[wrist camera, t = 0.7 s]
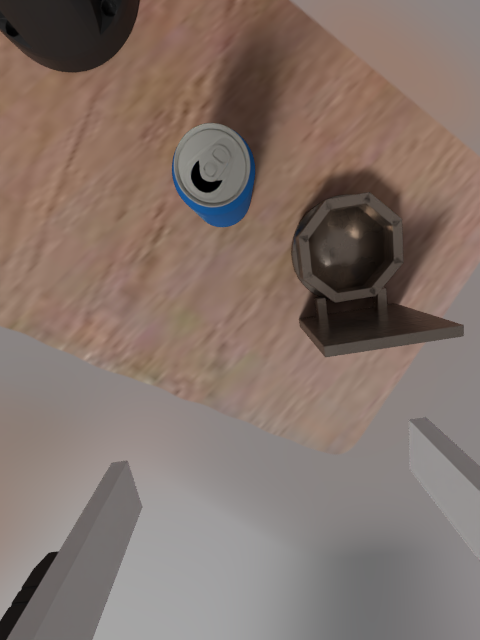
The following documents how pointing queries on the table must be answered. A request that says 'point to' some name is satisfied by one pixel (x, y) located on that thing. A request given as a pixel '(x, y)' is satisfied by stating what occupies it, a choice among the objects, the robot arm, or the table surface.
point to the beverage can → (214, 173)
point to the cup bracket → (358, 278)
